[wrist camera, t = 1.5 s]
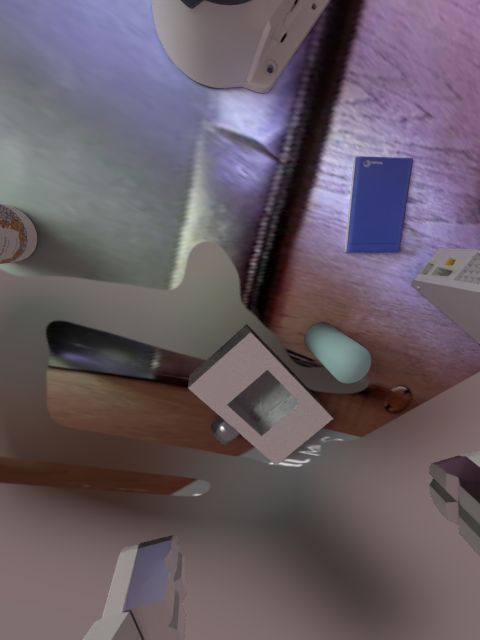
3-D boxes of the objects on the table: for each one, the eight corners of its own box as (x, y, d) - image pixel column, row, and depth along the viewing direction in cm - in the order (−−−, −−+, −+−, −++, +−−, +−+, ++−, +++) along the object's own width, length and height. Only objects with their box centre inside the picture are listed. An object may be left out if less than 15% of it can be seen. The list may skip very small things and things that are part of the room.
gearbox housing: (246, 323, 43) (250, 332, 39) (323, 404, 48) (333, 419, 44) (175, 387, 44) (172, 402, 40) (258, 458, 50) (262, 477, 46)
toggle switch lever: (323, 315, 44) (356, 336, 34) (347, 344, 46) (385, 372, 36) (298, 337, 44) (323, 364, 35) (323, 365, 46) (353, 398, 37)
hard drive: (357, 155, 37) (347, 252, 41) (414, 157, 38) (400, 251, 42) (351, 159, 39) (342, 251, 42) (406, 160, 40) (393, 251, 43)
